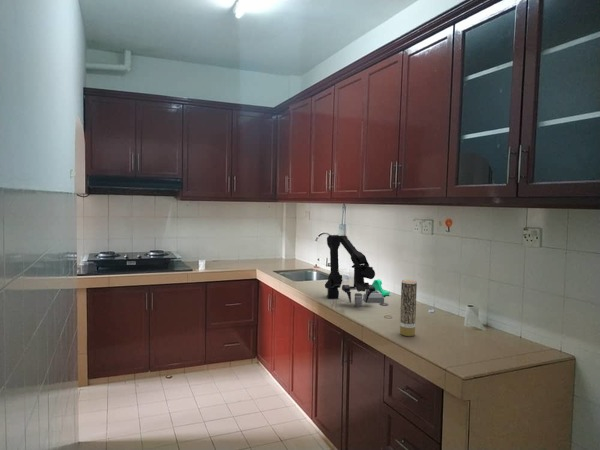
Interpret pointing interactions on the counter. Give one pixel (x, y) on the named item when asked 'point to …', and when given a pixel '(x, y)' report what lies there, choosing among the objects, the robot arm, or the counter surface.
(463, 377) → the counter surface
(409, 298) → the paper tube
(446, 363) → the counter surface
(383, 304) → the lens cap
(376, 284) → the camera mount
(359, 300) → the lens
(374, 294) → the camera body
